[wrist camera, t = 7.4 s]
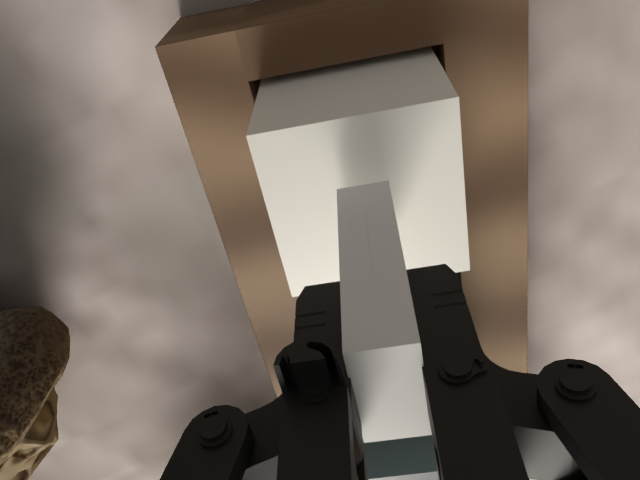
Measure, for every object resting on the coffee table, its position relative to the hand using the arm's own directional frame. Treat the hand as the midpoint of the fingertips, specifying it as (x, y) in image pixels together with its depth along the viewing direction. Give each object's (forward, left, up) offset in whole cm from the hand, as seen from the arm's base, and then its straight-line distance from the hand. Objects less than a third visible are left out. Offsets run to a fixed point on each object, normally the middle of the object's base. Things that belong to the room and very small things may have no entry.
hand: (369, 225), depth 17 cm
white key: (0, 0, -6) cm, 6 cm away
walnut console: (+9, 0, -9) cm, 13 cm away
